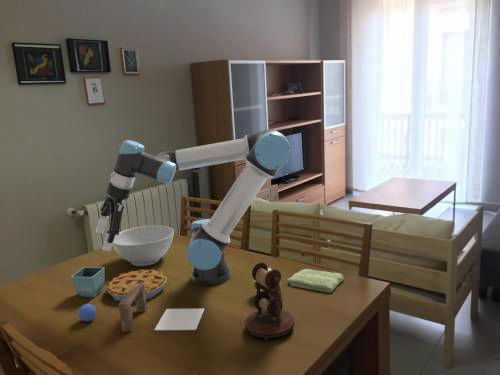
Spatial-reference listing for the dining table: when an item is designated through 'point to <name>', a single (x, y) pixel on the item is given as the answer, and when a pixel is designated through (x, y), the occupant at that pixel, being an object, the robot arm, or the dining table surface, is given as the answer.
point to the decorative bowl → (143, 244)
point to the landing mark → (180, 319)
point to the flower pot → (89, 281)
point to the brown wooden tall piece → (268, 305)
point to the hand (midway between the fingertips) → (102, 241)
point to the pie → (126, 281)
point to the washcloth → (316, 280)
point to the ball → (87, 312)
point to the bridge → (125, 306)
